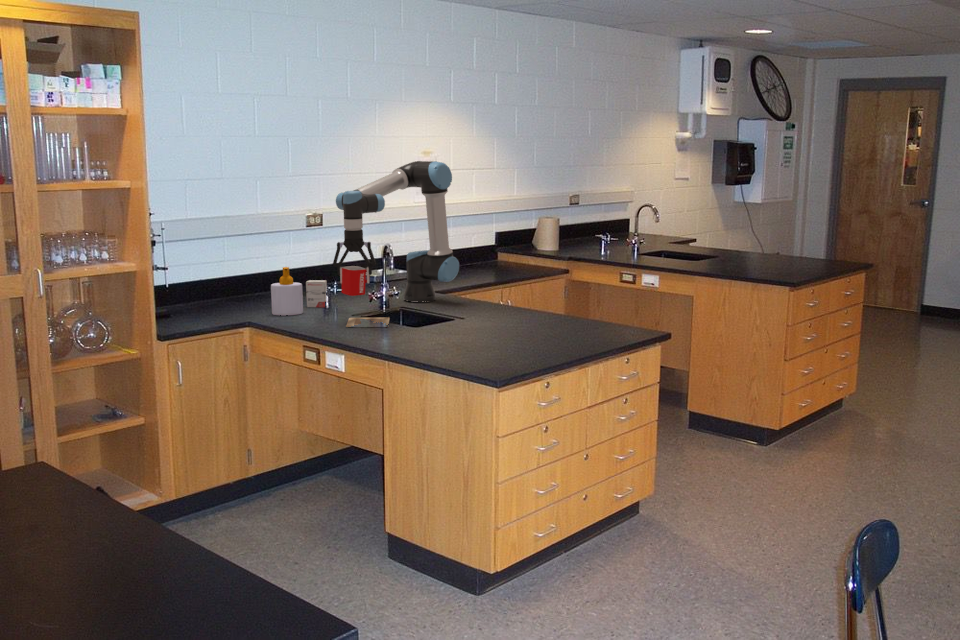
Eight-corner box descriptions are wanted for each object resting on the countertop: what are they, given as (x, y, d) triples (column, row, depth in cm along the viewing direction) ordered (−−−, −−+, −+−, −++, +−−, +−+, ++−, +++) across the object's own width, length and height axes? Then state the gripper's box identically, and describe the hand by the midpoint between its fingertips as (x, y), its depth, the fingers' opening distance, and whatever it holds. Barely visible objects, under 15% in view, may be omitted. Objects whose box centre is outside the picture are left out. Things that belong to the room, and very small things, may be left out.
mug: (350, 296, 380) (351, 270, 377) (339, 292, 386) (340, 267, 383) (374, 293, 388) (375, 268, 386) (362, 290, 394) (363, 265, 391)
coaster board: (389, 318, 396) (389, 317, 396) (388, 327, 379) (388, 325, 379) (349, 319, 395) (349, 317, 395) (345, 327, 378) (345, 326, 378)
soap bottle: (272, 316, 400) (269, 269, 396) (272, 312, 408) (270, 266, 404) (303, 315, 403) (301, 268, 399) (302, 311, 411) (301, 265, 407)
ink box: (328, 305, 424) (327, 279, 421) (325, 307, 419) (324, 281, 417) (309, 305, 425) (308, 279, 422) (306, 307, 420) (305, 281, 417)
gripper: (382, 227, 385) (383, 281, 390) (326, 228, 384) (328, 281, 389) (380, 230, 378) (382, 284, 382) (324, 230, 377) (326, 284, 382)
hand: (355, 282), depth 386 cm, fingers closed on mug, 10 cm apart
